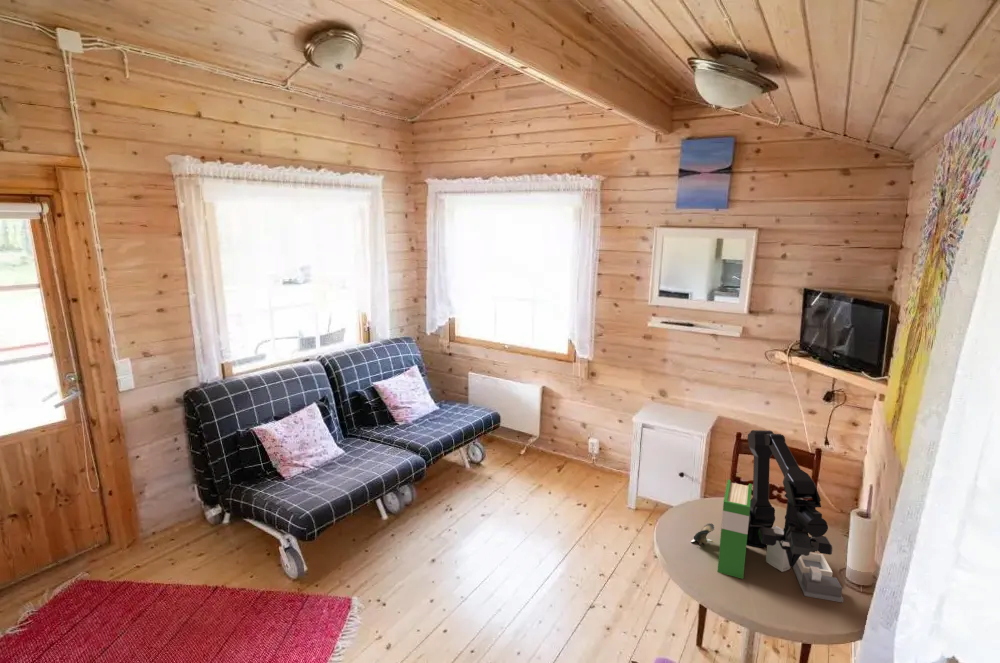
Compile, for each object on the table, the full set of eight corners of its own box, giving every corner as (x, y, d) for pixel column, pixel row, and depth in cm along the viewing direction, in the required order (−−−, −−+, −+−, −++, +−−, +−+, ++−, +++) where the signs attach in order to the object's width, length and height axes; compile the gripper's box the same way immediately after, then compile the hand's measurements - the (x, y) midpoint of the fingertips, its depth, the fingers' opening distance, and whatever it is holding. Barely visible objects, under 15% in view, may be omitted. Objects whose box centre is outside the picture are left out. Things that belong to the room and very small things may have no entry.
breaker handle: (811, 580, 155) (812, 571, 155) (808, 574, 158) (809, 566, 157) (820, 582, 154) (821, 573, 154) (817, 576, 157) (818, 567, 157)
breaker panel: (804, 595, 155) (806, 582, 154) (788, 557, 174) (789, 546, 173) (842, 602, 152) (844, 589, 151) (822, 563, 171) (823, 551, 170)
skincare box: (790, 569, 168) (794, 534, 166) (781, 572, 166) (785, 537, 164) (773, 558, 173) (777, 524, 171) (764, 562, 171) (767, 528, 169)
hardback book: (721, 544, 181) (727, 479, 177) (745, 550, 178) (751, 483, 174) (717, 572, 166) (723, 501, 162) (743, 579, 162) (750, 507, 158)
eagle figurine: (712, 557, 174) (714, 532, 172) (689, 552, 176) (691, 527, 175) (712, 545, 180) (714, 521, 179) (690, 540, 183) (692, 516, 182)
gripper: (767, 527, 150) (762, 576, 153) (841, 537, 145) (834, 588, 147) (760, 508, 160) (755, 554, 163) (829, 518, 155) (823, 565, 158)
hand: (791, 566), depth 158 cm, fingers closed
